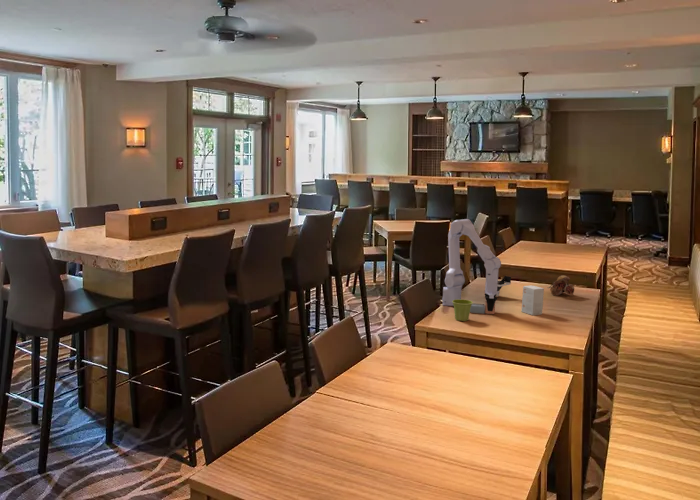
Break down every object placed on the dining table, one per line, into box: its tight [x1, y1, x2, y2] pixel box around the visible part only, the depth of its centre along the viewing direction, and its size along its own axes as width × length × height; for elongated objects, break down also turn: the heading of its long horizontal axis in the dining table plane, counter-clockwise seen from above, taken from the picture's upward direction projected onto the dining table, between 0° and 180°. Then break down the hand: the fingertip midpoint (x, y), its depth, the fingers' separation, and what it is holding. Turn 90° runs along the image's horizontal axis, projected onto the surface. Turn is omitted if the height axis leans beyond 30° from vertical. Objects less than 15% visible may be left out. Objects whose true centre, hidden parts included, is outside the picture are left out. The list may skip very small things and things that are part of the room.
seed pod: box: [547, 274, 575, 296], centre depth 343 cm, size 13×16×15 cm
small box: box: [521, 285, 545, 316], centre depth 301 cm, size 8×6×13 cm
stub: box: [484, 300, 496, 315], centre depth 300 cm, size 4×5×5 cm
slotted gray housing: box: [470, 303, 486, 314], centre depth 301 cm, size 8×5×4 cm, turn 80°
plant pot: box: [452, 298, 473, 322], centre depth 286 cm, size 9×9×9 cm
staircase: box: [496, 275, 512, 297], centre depth 332 cm, size 9×10×12 cm
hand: (489, 309), depth 300 cm, fingers closed on stub, 5 cm apart
